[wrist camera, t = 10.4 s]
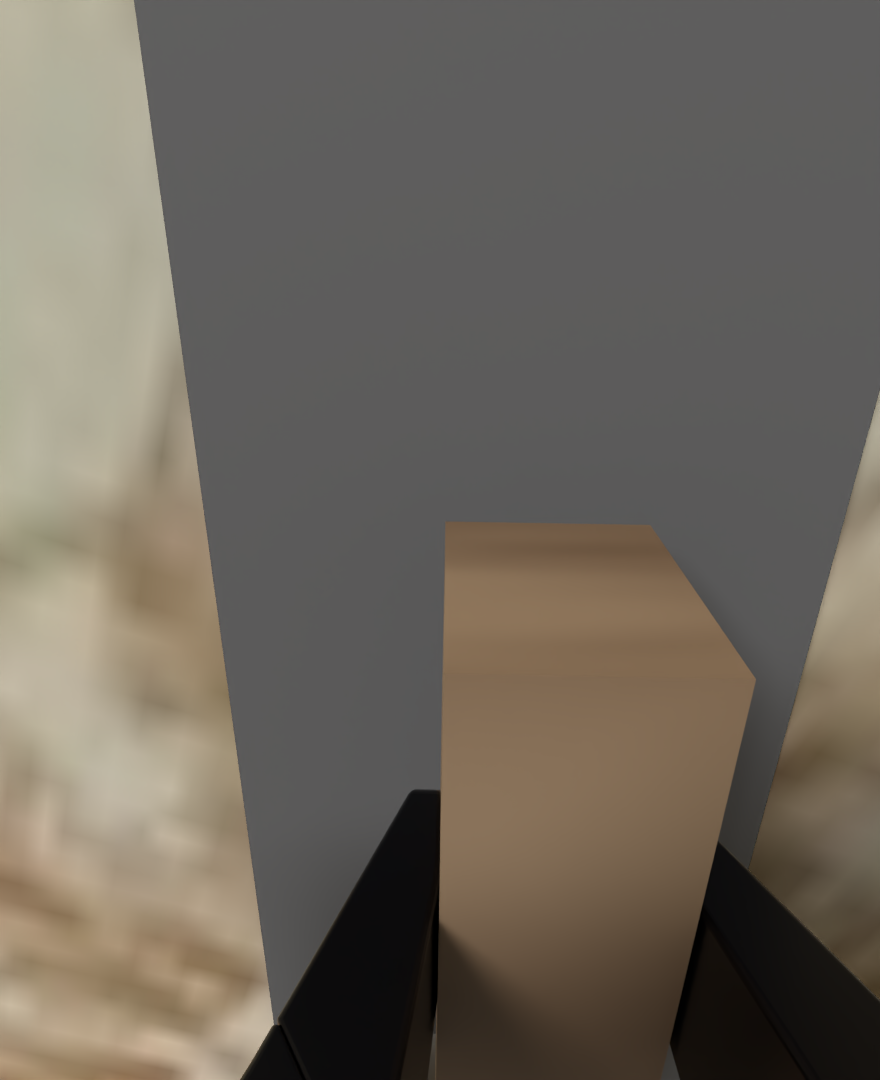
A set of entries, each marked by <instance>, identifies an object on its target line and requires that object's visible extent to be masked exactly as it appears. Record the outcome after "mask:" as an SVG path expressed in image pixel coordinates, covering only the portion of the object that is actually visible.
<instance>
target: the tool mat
mask: <svg viewBox="0 0 880 1080" xmlns="http://www.w3.org/2000/svg"><path fill="white" fill-rule="evenodd" d="M134 3H135V10H136V18H137V25H138V32H139V40H140V47H141V54H142V61H143V69H144V76H145V83H146V91H147V98H148V105H149V113H150V120H151V127H152V135H153V142H154V149H155V157H156V164H157V171H158V179H159V186H160V193H161V200H162V208H163V215H164V222H165V230H166V237H167V244H168V252H169V259H170V266H171V274H172V281H173V288H174V296H175V303H176V310H177V318H178V325H179V332H180V339H181V347H182V354H183V361H184V369H185V376H186V383H187V391H188V398H189V405H190V413H191V420H192V427H193V435H194V442H195V449H196V456H197V464H198V471H199V478H200V486H201V493H202V500H203V508H204V515H205V522H206V530H207V537H208V544H209V552H210V559H211V566H212V574H213V581H214V588H215V595H216V603H217V610H218V617H219V625H220V632H221V639H222V647H223V654H224V661H225V669H226V676H227V683H228V691H229V698H230V705H231V713H232V720H233V727H234V734H235V742H236V749H237V756H238V764H239V771H240V778H241V786H242V793H243V800H244V808H245V815H246V822H247V830H248V837H249V844H250V851H251V859H252V866H253V873H254V881H255V888H256V895H257V903H258V910H259V917H260V925H261V932H262V939H263V947H264V954H265V961H266V969H267V976H268V983H269V990H270V998H271V1005H272V1012H273V1020H274V1025H278V1024H277V1018H278V1016H279V1015H280V1013H281V1011H282V1009H283V1008H284V1006H285V1004H286V1003H287V1001H288V999H289V997H290V996H291V994H292V992H293V991H294V989H295V987H296V985H297V984H298V982H299V980H300V979H301V977H302V975H303V973H304V972H305V970H306V968H307V967H308V965H309V963H310V961H311V960H312V958H313V956H314V955H315V953H316V951H317V949H318V948H319V946H320V944H321V943H322V941H323V939H324V937H325V936H326V934H327V932H328V931H329V929H330V927H331V925H332V924H333V922H334V920H335V919H336V917H337V915H338V913H339V912H340V910H341V908H342V907H343V905H344V903H345V902H346V900H347V898H348V896H349V895H350V893H351V891H352V890H353V888H354V886H355V884H356V883H357V881H358V879H359V878H360V876H361V874H362V872H363V871H364V869H365V867H366V866H367V864H368V862H369V860H370V859H371V857H372V855H373V854H374V852H375V850H376V848H377V847H378V845H379V843H380V842H381V840H382V838H383V836H384V835H385V833H386V831H387V830H388V828H389V826H390V824H391V823H392V821H393V819H394V818H395V816H396V814H397V812H398V811H399V809H400V807H401V806H402V804H403V802H404V801H405V799H406V797H407V795H408V794H409V793H410V792H411V791H412V790H414V789H430V790H440V784H441V731H442V677H443V623H444V570H445V521H447V522H505V523H563V524H622V525H651V527H652V528H653V530H654V531H655V533H656V534H657V536H658V537H659V538H660V540H661V541H662V543H663V544H664V546H665V547H666V549H667V550H668V552H669V553H670V554H671V556H672V557H673V559H674V560H675V562H676V563H677V565H678V566H679V568H680V569H681V571H682V572H683V573H684V575H685V576H686V578H687V579H688V581H689V582H690V584H691V585H692V587H693V588H694V589H695V591H696V592H697V594H698V595H699V597H700V598H701V600H702V601H703V603H704V604H705V606H706V607H707V608H708V610H709V611H710V613H711V614H712V616H713V617H714V619H715V620H716V622H717V623H718V624H719V626H720V627H721V629H722V630H723V632H724V633H725V635H726V636H727V638H728V639H729V641H730V642H731V643H732V645H733V646H734V648H735V649H736V651H737V652H738V654H739V655H740V657H741V658H742V659H743V661H744V662H745V664H746V665H747V667H748V668H749V670H750V671H751V673H752V674H753V676H754V677H755V678H756V682H755V686H754V690H753V695H752V699H751V703H750V707H749V711H748V716H747V720H746V724H745V728H744V732H743V737H742V741H741V745H740V749H739V753H738V758H737V762H736V766H735V770H734V774H733V779H732V783H731V787H730V791H729V795H728V800H727V804H726V808H725V812H724V816H723V821H722V825H721V829H720V833H719V837H718V841H719V842H720V843H721V844H722V845H723V846H724V847H725V848H727V849H728V850H729V851H730V852H731V853H732V854H733V855H734V856H735V857H736V858H737V859H738V860H739V861H740V862H741V863H742V864H743V865H744V866H745V867H746V868H747V869H748V868H749V865H750V861H751V857H752V854H753V850H754V846H755V843H756V839H757V835H758V832H759V828H760V824H761V821H762V817H763V814H764V810H765V806H766V803H767V799H768V795H769V792H770V788H771V784H772V781H773V777H774V773H775V770H776V766H777V763H778V759H779V755H780V752H781V748H782V744H783V741H784V737H785V733H786V730H787V726H788V722H789V719H790V715H791V711H792V708H793V704H794V701H795V697H796V693H797V690H798V686H799V682H800V679H801V675H802V671H803V668H804V664H805V660H806V657H807V653H808V650H809V646H810V642H811V639H812V635H813V631H814V628H815V624H816V620H817V617H818V613H819V609H820V606H821V602H822V598H823V595H824V591H825V588H826V584H827V580H828V577H829V573H830V569H831V566H832V562H833V558H834V555H835V551H836V547H837V544H838V540H839V536H840V533H841V529H842V526H843V522H844V518H845V515H846V511H847V507H848V504H849V500H850V496H851V493H852V489H853V485H854V482H855V478H856V475H857V471H858V467H859V464H860V460H861V456H862V453H863V449H864V445H865V442H866V438H867V434H868V431H869V427H870V423H871V420H872V416H873V413H874V409H875V405H876V402H877V398H878V394H879V391H880V0H134ZM433 1034H436V1016H435V1024H434V1031H433ZM661 1080H680V1079H679V1075H678V1072H677V1068H676V1065H675V1061H674V1058H673V1054H672V1051H671V1047H670V1044H669V1047H668V1052H667V1056H666V1060H665V1064H664V1068H663V1073H662V1077H661Z"/></svg>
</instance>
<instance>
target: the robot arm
mask: <svg viewBox="0 0 880 1080" xmlns="http://www.w3.org/2000/svg"><path fill="white" fill-rule="evenodd" d="M440 809H441V791H440V790H430V789H414V790H412V791H411V792H410V793H409V794H408V795H407V797H406V799H405V801H404V802H403V804H402V806H401V807H400V809H399V811H398V812H397V814H396V816H395V818H394V819H393V821H392V823H391V824H390V826H389V828H388V830H387V831H386V833H385V835H384V836H383V838H382V840H381V842H380V843H379V845H378V847H377V848H376V850H375V852H374V854H373V855H372V857H371V859H370V860H369V862H368V864H367V866H366V867H365V869H364V871H363V872H362V874H361V876H360V878H359V879H358V881H357V883H356V884H355V886H354V888H353V890H352V891H351V893H350V895H349V896H348V898H347V900H346V902H345V903H344V905H343V907H342V908H341V910H340V912H339V913H338V915H337V917H336V919H335V920H334V922H333V924H332V925H331V927H330V929H329V931H328V932H327V934H326V936H325V937H324V939H323V941H322V943H321V944H320V946H319V948H318V949H317V951H316V953H315V955H314V956H313V958H312V960H311V961H310V963H309V965H308V967H307V968H306V970H305V972H304V973H303V975H302V977H301V979H300V980H299V982H298V984H297V985H296V987H295V989H294V991H293V992H292V994H291V996H290V997H289V999H288V1001H287V1003H286V1004H285V1006H284V1008H283V1009H282V1011H281V1013H280V1015H279V1016H278V1018H277V1024H278V1025H273V1026H272V1028H271V1029H270V1031H269V1033H268V1034H267V1036H266V1038H265V1040H264V1041H263V1043H262V1045H261V1046H260V1048H259V1050H258V1051H257V1053H256V1055H255V1057H254V1058H253V1060H252V1062H251V1063H250V1065H249V1066H248V1068H247V1070H246V1071H245V1073H244V1074H243V1076H242V1078H241V1079H240V1080H427V1079H428V1071H429V1063H430V1055H431V1047H432V1039H433V1031H434V1024H435V1016H436V1008H437V991H438V940H439V888H440ZM669 1044H670V1047H671V1051H672V1054H673V1058H674V1061H675V1065H676V1068H677V1072H678V1075H679V1079H680V1080H880V1000H879V999H878V998H877V997H876V996H875V995H874V994H873V993H872V992H871V991H870V990H869V989H868V988H867V987H866V986H865V985H864V984H863V983H862V982H861V981H860V980H859V979H858V978H857V977H856V976H855V975H854V974H853V973H852V972H851V971H850V970H849V969H848V968H847V967H846V966H845V965H844V964H843V963H842V962H841V961H840V960H839V959H838V958H837V957H836V956H835V955H834V954H833V953H832V952H831V951H830V950H829V949H828V948H827V947H826V946H825V945H824V944H823V943H822V942H821V941H820V940H819V939H818V938H817V937H815V936H814V935H813V934H812V933H811V932H810V931H809V930H808V929H807V928H806V927H805V926H804V925H803V924H802V923H801V922H800V921H799V920H798V919H797V918H796V917H795V916H794V915H793V914H792V913H791V912H790V911H789V910H788V909H787V908H786V907H785V906H784V905H783V904H782V903H781V902H780V901H779V900H778V899H777V898H776V897H775V896H774V895H773V894H772V893H771V892H770V891H769V890H768V889H767V888H766V887H765V886H764V885H763V884H762V883H761V882H760V881H759V880H758V879H757V878H756V877H755V876H754V875H753V874H752V873H751V872H750V871H749V870H748V869H747V868H746V867H745V866H744V865H743V864H742V863H741V862H740V861H739V860H738V859H737V858H736V857H735V856H734V855H733V854H732V853H731V852H730V851H729V850H728V849H727V848H725V847H724V846H723V845H722V844H721V843H720V842H719V841H718V842H717V846H716V850H715V854H714V858H713V863H712V867H711V871H710V875H709V879H708V884H707V888H706V892H705V896H704V900H703V905H702V909H701V913H700V917H699V921H698V926H697V930H696V934H695V938H694V942H693V947H692V951H691V955H690V959H689V963H688V968H687V972H686V976H685V980H684V984H683V989H682V993H681V997H680V1001H679V1005H678V1010H677V1014H676V1018H675V1022H674V1026H673V1031H672V1035H671V1039H670V1043H669Z"/></svg>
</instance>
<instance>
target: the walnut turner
mask: <svg viewBox="0 0 880 1080" xmlns="http://www.w3.org/2000/svg"><path fill="white" fill-rule="evenodd" d="M755 682H756V678H755V677H754V676H753V674H752V673H751V671H750V670H749V668H748V667H747V665H746V664H745V662H744V661H743V659H742V658H741V657H740V655H739V654H738V652H737V651H736V649H735V648H734V646H733V645H732V643H731V642H730V641H729V639H728V638H727V636H726V635H725V633H724V632H723V630H722V629H721V627H720V626H719V624H718V623H717V622H716V620H715V619H714V617H713V616H712V614H711V613H710V611H709V610H708V608H707V607H706V606H705V604H704V603H703V601H702V600H701V598H700V597H699V595H698V594H697V592H696V591H695V589H694V588H693V587H692V585H691V584H690V582H689V581H688V579H687V578H686V576H685V575H684V573H683V572H682V571H681V569H680V568H679V566H678V565H677V563H676V562H675V560H674V559H673V557H672V556H671V554H670V553H669V552H668V550H667V549H666V547H665V546H664V544H663V543H662V541H661V540H660V538H659V537H658V536H657V534H656V533H655V531H654V530H653V528H652V527H651V525H622V524H563V523H505V522H447V521H445V570H444V623H443V677H442V731H441V784H440V791H441V809H440V888H439V940H438V991H437V1008H436V1034H433V1039H432V1047H431V1055H430V1063H429V1071H428V1079H427V1080H661V1077H662V1073H663V1068H664V1064H665V1060H666V1056H667V1052H668V1047H669V1043H670V1039H671V1035H672V1031H673V1026H674V1022H675V1018H676V1014H677V1010H678V1005H679V1001H680V997H681V993H682V989H683V984H684V980H685V976H686V972H687V968H688V963H689V959H690V955H691V951H692V947H693V942H694V938H695V934H696V930H697V926H698V921H699V917H700V913H701V909H702V905H703V900H704V896H705V892H706V888H707V884H708V879H709V875H710V871H711V867H712V863H713V858H714V854H715V850H716V846H717V842H718V837H719V833H720V829H721V825H722V821H723V816H724V812H725V808H726V804H727V800H728V795H729V791H730V787H731V783H732V779H733V774H734V770H735V766H736V762H737V758H738V753H739V749H740V745H741V741H742V737H743V732H744V728H745V724H746V720H747V716H748V711H749V707H750V703H751V699H752V695H753V690H754V686H755Z"/></svg>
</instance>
